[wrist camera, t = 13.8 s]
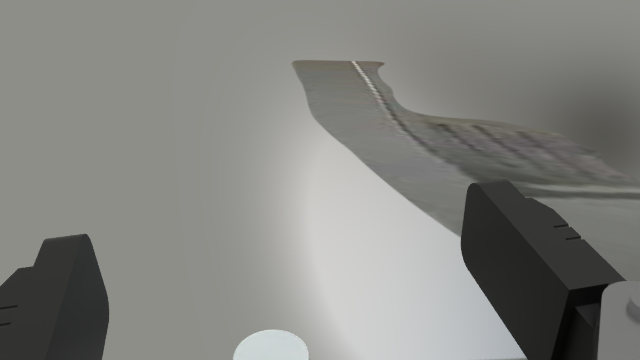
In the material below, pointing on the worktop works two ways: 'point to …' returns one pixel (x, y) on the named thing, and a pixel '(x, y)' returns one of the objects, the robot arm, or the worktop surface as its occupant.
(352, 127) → the worktop surface
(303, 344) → the supplement bottle
